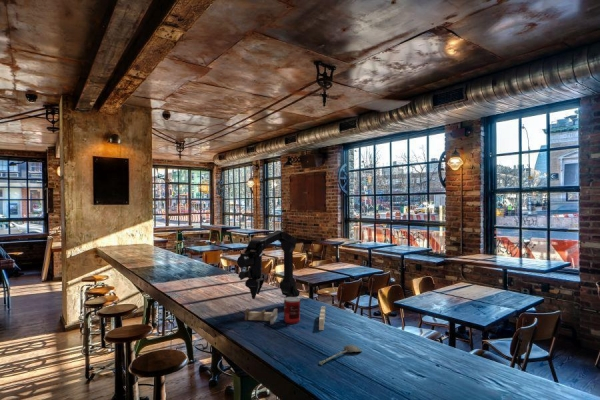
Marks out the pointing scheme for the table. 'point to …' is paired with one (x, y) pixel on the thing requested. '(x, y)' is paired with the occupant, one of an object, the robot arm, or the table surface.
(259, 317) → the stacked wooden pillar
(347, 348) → the soupspoon
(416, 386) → the table surface
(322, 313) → the stop rail
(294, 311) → the canned food
